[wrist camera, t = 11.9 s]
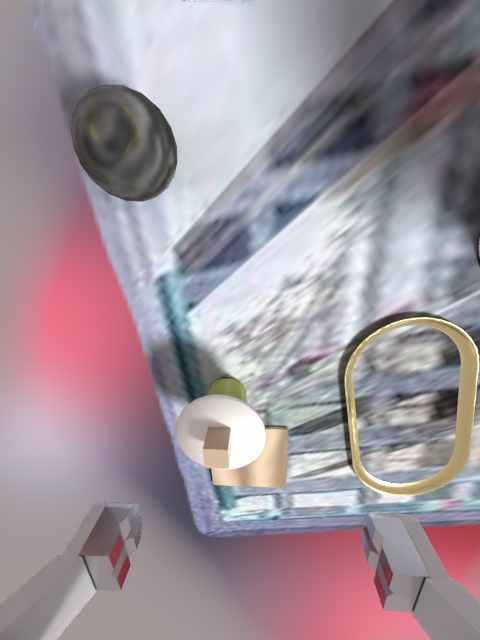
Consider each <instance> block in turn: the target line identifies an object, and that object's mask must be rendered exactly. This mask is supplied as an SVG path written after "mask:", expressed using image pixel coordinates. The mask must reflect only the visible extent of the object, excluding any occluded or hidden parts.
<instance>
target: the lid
mask: <svg viewBox="0 0 480 640" xmlns="http://www.w3.org/2000/svg"><path fill="white" fill-rule="evenodd" d="M175 432H176V438H177V441H178V444H179V446H180V447H181V449H182V450H183V452H184V453H185V454H186V455H187V456H188V457H190V458H191V459H192V460H194V461H195V462H197V463H199V464H201V465H203V466H204V468H213V469H221V470H229V469H236V468H240V467H243V466H245V465H248V464H249V463H251V462H253V461H254V460H255V459H256V458H257V457H258V456H259V455H260V453H261V452H262V450H263V448H264V445H265V440H266V433H265V426H264V422H263V420H262V418H261V416H260V415H259V414H258V412H257V411H256V410H255V409H254V408H253V407H252V406H250V405H249V404H248V403H246V402H244V401H242V400H240V399H238V398H235V397H232V396H227V395H208V396H203V397H200V398H198V399H195V400H194V401H192V402H190V403H189V404H188V405H187V406H186V407H185V408H184V409H183V410H182V412H181V414H180V416H179V418H178V420H177V423H176V429H175Z"/></svg>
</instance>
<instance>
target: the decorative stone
mask: <svg viewBox="0 0 480 640" xmlns="http://www.w3.org/2000/svg"><path fill="white" fill-rule="evenodd" d="M71 132H72V138H73V145H74V149H75V151H76V154H77V156H78V159H79V161H80V163H81V165H82V167H83V168H84V170H85V171H86V172H87V174H88V175H89V176H90V178H91V179H92V180H93V182H95V183H96V184H97V185H98V186H100V187H101V188H102V189H104V190H105V191H106V192H107V193H109V194H111V195H113V196H116V197H118V198H121V199H123V200H126V201H146V200H149V199H152V198H155V197H157V196H158V195H159V194H161V193H162V192H163V191H164V190H166V189H167V187H168V186H169V184H170V182H171V181H172V179H173V177H174V174H175V170H176V166H177V146H176V142H175V139H174V136H173V132H172V129H171V127H170V125H169V124H168V122H167V120H166V119H165V117H164V115H163V114H162V112H161V111H160V109H159V108H158V107H157V106H156V105H154V104H153V103H152V102H151V101H150V100H149V99H148V98H147V97H145V96H144V95H143V94H142V93H139V92H137V91H135V90H132V89H130V88H128V87H125V86H123V85H103V86H100V87H98V88H95V89H93V90H91V91H89V92H88V93H87V94H86V95H85V96H84V97H83V98H82V99H81V100H80V101H79V103H78V105H77V107H76V110H75V112H74V114H73V120H72V130H71Z"/></svg>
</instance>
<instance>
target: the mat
mask: <svg viewBox="0 0 480 640" xmlns="http://www.w3.org/2000/svg"><path fill="white" fill-rule="evenodd" d="M265 433H266V440H265V445H264V448H263V450H262V452H261V453H260V455H259V456H258V457H257V458H256V459H255V460H254V461H253V462H251V463H249V464H248V465H245V466H243V467H240V468H236V469H229V470H221V469H213V468H211V470H212V479H213V485H228V486H255V487H282V488H286V465H287V433H288V429H287V427H265Z"/></svg>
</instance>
